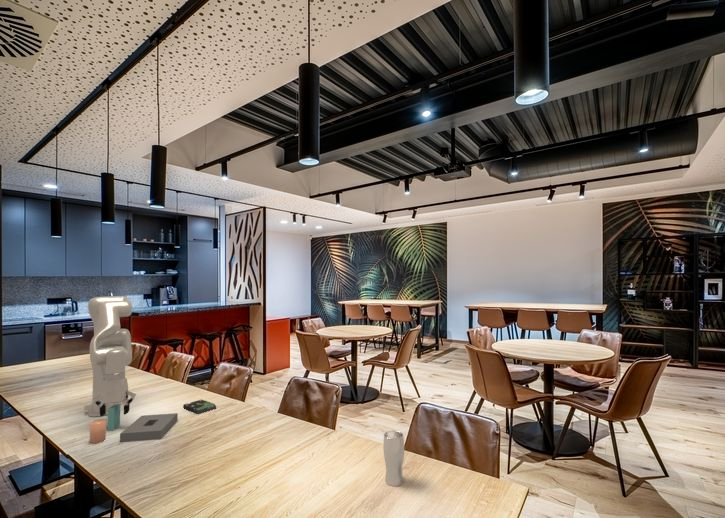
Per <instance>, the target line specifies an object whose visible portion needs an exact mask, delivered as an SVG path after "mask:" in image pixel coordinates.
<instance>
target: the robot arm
mask: <svg viewBox="0 0 725 518" xmlns="http://www.w3.org/2000/svg"><path fill="white" fill-rule="evenodd" d="M87 309H88V314H89V317H90V318H91V320H92V324H93V336H92V338H91V340H90V343H89V359H90V360H89V361H90V363H91V368H92V395H91V397H92V398H91V402H92V403H91V404H84V407H83V411H88V410H89V411H88V412H87V415H88V417H91V418H92V417H95V418H96V417H103V416H108V408H110V407H111V406H113V405H114V404H119V403H123V415H125V416H126V415H127V414H128V413H129V412H130V404H131V403H132V402H133V401H134V400H135V397H136V396H137V394H136V393H134V392H132V391H130V390H129V383H128V379H127V377H126V366H130V364H132V361H133V349H132V336H131V333H130V332H131V331H129V329H127V328H121V322H120V321H121V320H120V318H124V317H126V318H127V317H130V316H131V315H132V313H133V305H132V303H131V300H130V299H128V297H127V296H124V295H114V296H110V295H109V296H96V297H92V298H90V299H89V300H88V303H87ZM129 397H130V398H129Z"/></svg>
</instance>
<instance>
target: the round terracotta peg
mask: <svg viewBox="0 0 725 518" xmlns="http://www.w3.org/2000/svg"><path fill="white" fill-rule="evenodd" d="M106 433H107V419H104V418H102V419H96V420H93V421H91V422H90V423H89V445H96V444H101V443H103V442H105V441H106V440H105V439H106V438H107V436H106V435H107V434H106ZM104 440H105V441H104ZM100 442H101V443H100Z"/></svg>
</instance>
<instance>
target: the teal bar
mask: <svg viewBox="0 0 725 518" xmlns="http://www.w3.org/2000/svg"><path fill="white" fill-rule="evenodd" d="M120 426H121V403H115V404H114V405H113V406H111V407H110V408H108V415H107V432H113V431H115V430H117V429H118V428H119V427H120Z"/></svg>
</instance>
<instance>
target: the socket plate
mask: <svg viewBox="0 0 725 518" xmlns="http://www.w3.org/2000/svg"><path fill="white" fill-rule="evenodd" d="M178 415H179V414H178V412H175V413H159V414H146V415H141V416H139V417H138V418H137V419H136V420H135V421H133V422H132V423H131V424H130V425H128V426H127V427H126V428H125V429H124V430H123V431H121V432H120V433H119V443H123V442H124V443H125V442H126V443H129V442H139V441H141V442H142V441H153V440H161V439H162V438H163V437H165V435H166V434H167V433H168V431H170V430H171V428H172V427H173V426H174V425H175V424H176V423H177V422H178V417H179V416H178Z"/></svg>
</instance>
